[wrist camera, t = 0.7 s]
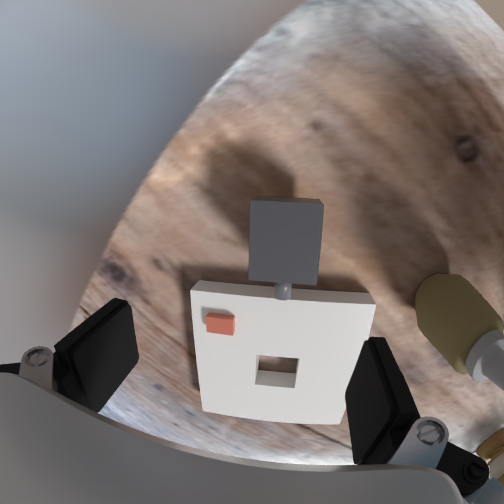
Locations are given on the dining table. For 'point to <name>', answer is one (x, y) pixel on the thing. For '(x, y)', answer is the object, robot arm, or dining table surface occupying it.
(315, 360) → the socket
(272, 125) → the dining table surface
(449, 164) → the dining table surface
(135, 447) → the robot arm
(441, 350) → the squeeze bottle
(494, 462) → the lantern
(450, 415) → the dining table surface
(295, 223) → the plug
